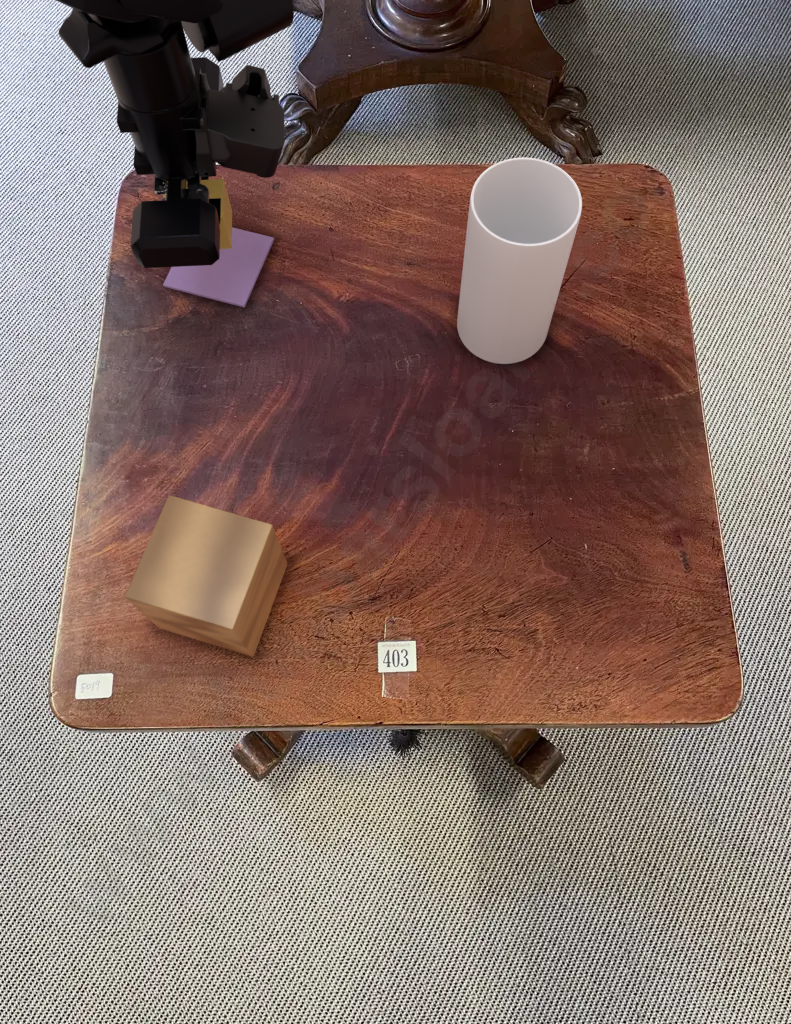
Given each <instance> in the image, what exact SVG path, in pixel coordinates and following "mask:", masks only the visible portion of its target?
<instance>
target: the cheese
mask: <svg viewBox="0 0 791 1024" xmlns="http://www.w3.org/2000/svg"><path fill="white" fill-rule="evenodd" d="M201 184H202V185H205V186H206V187H207V188H208V190H209V199H213V198H221V218H220V225H219V226H220V249H232V227H233V209H232V205H231V201H230V198H229V194H228V190H227V187H226V183H225V179H224V178H217V179H215V178H213V179H209V180H201ZM167 187H168V185H167ZM186 189H188V188H187V181H186ZM165 196H166V194H164V195H162V198H165Z"/></svg>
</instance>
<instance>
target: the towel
mask: <svg viewBox="0 0 791 1024" xmlns="http://www.w3.org/2000/svg"><path fill="white" fill-rule="evenodd" d="M274 241H275V237H272V236H269V235H265V234H261V233H256V232H253V231H249V230H244V229H240V228H237V227H233V226H232V249H220V256H219V259H218V260H217V261H216V262H215V263H214V264H213V265H203V266H182V267H170V270H169V271H168V274H167V275H166V277H165V280H164V282H163V284H162V286H163V287H164V288H167V289H170V290H174V291H179V292H182V293H185V294H190V295H193V296H197V297H202V298H205V299H210V300H214V301H218V302H220V303H225V304H229V305H232V306H236V307H240V308H246V305H247V303H248V301H249V299H250V296H251V294H252V292H253V289H254V288H255V285H256V283H257V281H258V278H259V276H260V273H261V271H262V269H263V266H264V265H265V262H266V260H267V257H268V256H269V253H270V251H271V248H272V246H273V243H274Z"/></svg>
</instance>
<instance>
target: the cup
mask: <svg viewBox="0 0 791 1024" xmlns="http://www.w3.org/2000/svg"><path fill="white" fill-rule="evenodd" d="M469 197H470V198H469V205H468V213H467V214H468V215H467V216H468V217H467V224H466V234H465V243H464V245H465V246H464V251H463V252H464V253H463V261H462V269H461V270H462V273H461V281H460V290H459V298H458V310H457V319H456V328H457V334H458V336H459V339H460V340H461V342H462V344H463V345H464V347H465V348H466V349H467V350H468V352H470V353H471V354H473V355H474V356H475V357H477V358H479V359H481V360H484V361H486V362H488V363H492V364H499V365H509V364H516V363H520V362H523V361H526V360H527V359H529V358H531V357H532V356H533V355H535V354H536V353H537V352H539V350H540V349H541V348H542V346H543V345H544V343H545V342H546V339H547V337H548V333H549V329H550V325H551V322H552V319H553V315H554V312H555V309H556V304H557V301H558V297H559V294H560V290H561V287H562V284H563V280H564V277H565V274H566V268H567V266H568V263H569V259H570V255H571V252H572V249H573V245H574V241H575V238H576V234H577V230H578V227H579V223H580V221H581V216H582V210H583V198H582V194H581V190H580V188H579V186H578V185H577V183H576V181H575V180H574V179H573V178H572V176H570V175H569V173H567V172H566V170H564V169H563V168H561V167H559V166H558V165H557V164H554V163H552V162H550V161H547V160H545V159H540V158H535V157H525V156H524V157H523V156H522V157H513V158H508V159H504V160H501V161H498V162H496V163H494V164H492V165H490V166H489V167H488V168H486V169H485V170H484V171H483V172H482V173H481V174H480V175H479V176H478V177H477V179H476V180H475V182H474V184H473V187H472V190H471V192H470V196H469Z"/></svg>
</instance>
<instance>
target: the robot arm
mask: <svg viewBox="0 0 791 1024" xmlns="http://www.w3.org/2000/svg"><path fill="white" fill-rule="evenodd" d="M55 1H56V2H59V3H61V4H63V5H65V6H66V7H69V8H71V9H72V10H71V12H70V14H69V15H68V16H67V17H66V18H65V19H64V20H63V22H62V24H61V26H60V28H59V29H58V36H59V37H60V39H61V40H62V41H63V42H64V44H65V45H66V46H67V47H68V48H69V50H70V51H71V52H72V54H73V55H74V56H75V57H76V58H77V60H78V61H79V62H80V63H81V65H82V66H83V67H84V68H86V69H90V68H93V67H95V66H97V65H99V64H101V63H103V64H104V66H105V69H106V72H107V74H108V77H109V80H110V82H111V85H112V88H113V91H114V93H115V96H116V99H117V101H118V102H117V113H116V124H117V126H118V127H117V128H118V129H119V132H120V133H121V134H127V133H130V136H131V139H132V141H133V144H134V152H133V165H132V166H133V168H134V171H135V173H136V175H137V176H146V175H147V176H148V175H149V176H150V175H154V179H153V191H154V194H155V195H157V196H160V195H162V196H163V195H164V194H166V196H165V198H163V197H162V198H161V199H160V200H143V201H142V200H141V202H140V203H139V204H138V205H137V206H135V208H133V210H132V219H131V220H132V221H131V234H130V249H131V251H132V253H133V256H134V258H135V259H136V260H135V261H136V262H137V264H139V265H140V266H141V267H142V268H144V269H156V268H157V269H158V268H160V269H161V268H171V267H182V266H203V265H213V264H214V263H215V262H216V261H217V260H218V259H219V256H220V226H219V225H220V218H221V198H213V199H209V190H208V188H207V187H206V186H205V185H202V184H201V180H210V177H212V178H213V177H217V172H218V171H217V167H218V166H217V164H218V165H219V166H221V167H222V168H225V169H230V170H234V171H240V172H244V173H248V174H254V175H256V176H257V177H259V178H263V179H270V178H273V177H274V176H275V174H276V173H277V169H278V165H279V163H280V159H281V155H282V152H283V149H284V147H285V142H286V140H285V135H286V134H285V132H286V131H285V130H286V129H285V127H286V126H285V109H284V107H283V106H282V105H281V103H280V95H279V94H276V93H274V94H273V95H272V94H271V86H270V85H271V84H270V82H269V79H268V75H267V73H266V70H265V69H264V68H262V67H258V66H253V65H249V64H247V65H245V66H244V67H243V68H242V69H241V70H240V71H239V72H238V73H237V74H236V75H235V76H234V77H233V78H232V81H231V83H230V82H226V83H225V84H224V80H223V76H222V71H221V67H220V65H218V64H217V63H215V62H214V61H213V60H211V59H209V57H206V56H202V57H191V52H190V49H189V45H188V41H187V39H188V40H189V42H190V43H191V44H192V46H193V47H194V48H195V49H196V50H197V51H198V52H199V53H205V52H207V51H209V52H210V53H211V55H213V56H214V58H215V59H216V61H217V62H218V63H219V62H222V61H225V60H227V59H229V58H231V57H233V56H235V55H237V54H238V53H241V52H243V51H244V50H246V49H248V48H251V47H253V46H255V45H256V44H258V43H261V42H263V41H265V40H266V39H268V38H270V37H272V36H273V35H276V34H277V33H279V32H281V31H284V30H286V29H288V28H289V27H291V26H292V25H293V22H294V18H295V13H294V11H295V10H294V2H293V0H55ZM186 37H187V38H186ZM186 181H187V188H188V189H186ZM167 185H168V187H167Z"/></svg>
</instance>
